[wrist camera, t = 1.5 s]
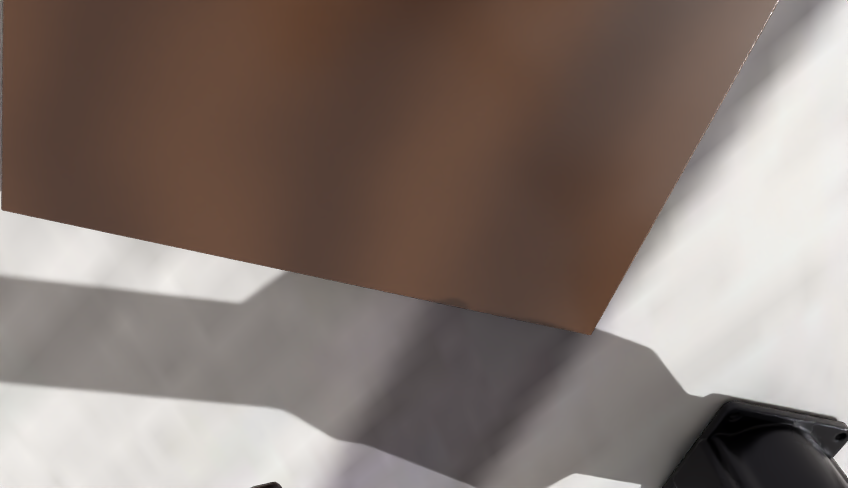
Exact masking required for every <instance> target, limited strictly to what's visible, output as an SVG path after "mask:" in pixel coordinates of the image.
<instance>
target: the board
mask: <svg viewBox="0 0 848 488" xmlns="http://www.w3.org/2000/svg"><path fill="white" fill-rule="evenodd" d="M778 2H779V0H3V55H2V193H1V209H2V210H3V211H8V212H13V213H17V214H22V215H27V216H31V217H36V218H41V219H46V220H50V221H55V222H60V223H64V224H69V225H74V226H78V227H83V228H88V229H93V230H97V231H102V232H107V233H111V234H116V235H121V236H126V237H130V238H135V239H140V240H144V241H149V242H154V243H158V244H163V245H168V246H173V247H177V248H182V249H187V250H191V251H196V252H201V253H205V254H210V255H215V256H220V257H224V258H229V259H234V260H238V261H243V262H248V263H253V264H257V265H262V266H267V267H271V268H276V269H281V270H285V271H290V272H295V273H300V274H304V275H309V276H314V277H318V278H323V279H328V280H332V281H337V282H342V283H347V284H351V285H356V286H361V287H365V288H370V289H375V290H380V291H384V292H389V293H394V294H398V295H403V296H408V297H412V298H417V299H422V300H427V301H431V302H436V303H441V304H445V305H450V306H455V307H459V308H464V309H469V310H474V311H478V312H483V313H488V314H492V315H497V316H502V317H507V318H511V319H516V320H521V321H525V322H530V323H535V324H539V325H544V326H549V327H554V328H558V329H563V330H568V331H572V332H577V333H582V334H587V335H591V334H592V332H593V331H594V329H595V327H596V325H597V323H598V322H599V320H600V318H601V316H602V315H603V313H604V311H605V309H606V307H607V306H608V304H609V302H610V300H611V299H612V297H613V295H614V293H615V292H616V290H617V288H618V286H619V284H620V283H621V281H622V279H623V277H624V276H625V274H626V272H627V270H628V268H629V267H630V265H631V263H632V261H633V260H634V258H635V256H636V254H637V252H638V251H639V249H640V247H641V245H642V244H643V242H644V240H645V238H646V236H647V235H648V233H649V231H650V229H651V228H652V226H653V224H654V222H655V220H656V219H657V217H658V215H659V213H660V212H661V210H662V208H663V206H664V204H665V203H666V201H667V199H668V197H669V196H670V194H671V192H672V190H673V188H674V187H675V185H676V183H677V181H678V180H679V178H680V176H681V174H682V173H683V171H684V169H685V167H686V165H687V164H688V162H689V160H690V158H691V157H692V155H693V153H694V151H695V149H696V148H697V146H698V144H699V142H700V141H701V139H702V137H703V135H704V133H705V132H706V130H707V128H708V126H709V125H710V123H711V121H712V119H713V117H714V116H715V114H716V112H717V110H718V109H719V107H720V105H721V103H722V101H723V100H724V98H725V96H726V94H727V93H728V91H729V89H730V87H731V85H732V84H733V82H734V80H735V78H736V77H737V75H738V73H739V71H740V69H741V68H742V66H743V64H744V62H745V61H746V59H747V57H748V55H749V54H750V52H751V50H752V48H753V46H754V45H755V43H756V41H757V39H758V38H759V36H760V34H761V32H762V30H763V29H764V27H765V25H766V23H767V22H768V20H769V18H770V16H771V14H772V13H773V11H774V9H775V7H776V6H777V4H778Z"/></svg>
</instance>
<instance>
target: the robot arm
mask: <svg viewBox="0 0 848 488" xmlns="http://www.w3.org/2000/svg"><path fill="white" fill-rule="evenodd" d="M847 441H848V426H847V425H846V424H845V423H843V422H839V421H834V420H829V419H824V418H819V417H814V416H809V415H804V414H799V413H794V412H789V411H784V410H779V409H774V408H769V407H764V406H759V405H754V404H749V403H743V402H738V401H731V402H728V403H726V404H724V405H723V406H722V407H721V408H720V410H719V411H718V412H717V414H716V415H715V416H714V418H713V419H712V420H711V422H710V423H709V425H708V426H707V427H706V429H705V430H704V431H703V433H702V434H701V435H700V437H699V438H698V439H697V441H696V442H695V444H694V445H693V446H692V448H691V449H690V450H689V452H688V453H687V454H686V456H685V457H684V459H683V460H682V461H681V463H680V464H679V465H678V467H677V468H676V469H675V471H674V472H673V473H672V475H671V476H670V478H669V479H668V480H667V482H666V483H665V484H664V486H663V487H662V488H848V478H847V476H846V475H845V474H844V472H843V471H842V470H841V468H840V467H839V465H838V464H837V463H836V461H835V460H834V459H833V457H834V456H835V455H836V454H837V452H838V451H839V450H840V449H841V448H842V447H843V446H844V445H845V443H846V442H847ZM251 488H282V487H281V486H280V484H278V483H277V482H270V483H266V484H262V485H257V486H253V487H251Z"/></svg>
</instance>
